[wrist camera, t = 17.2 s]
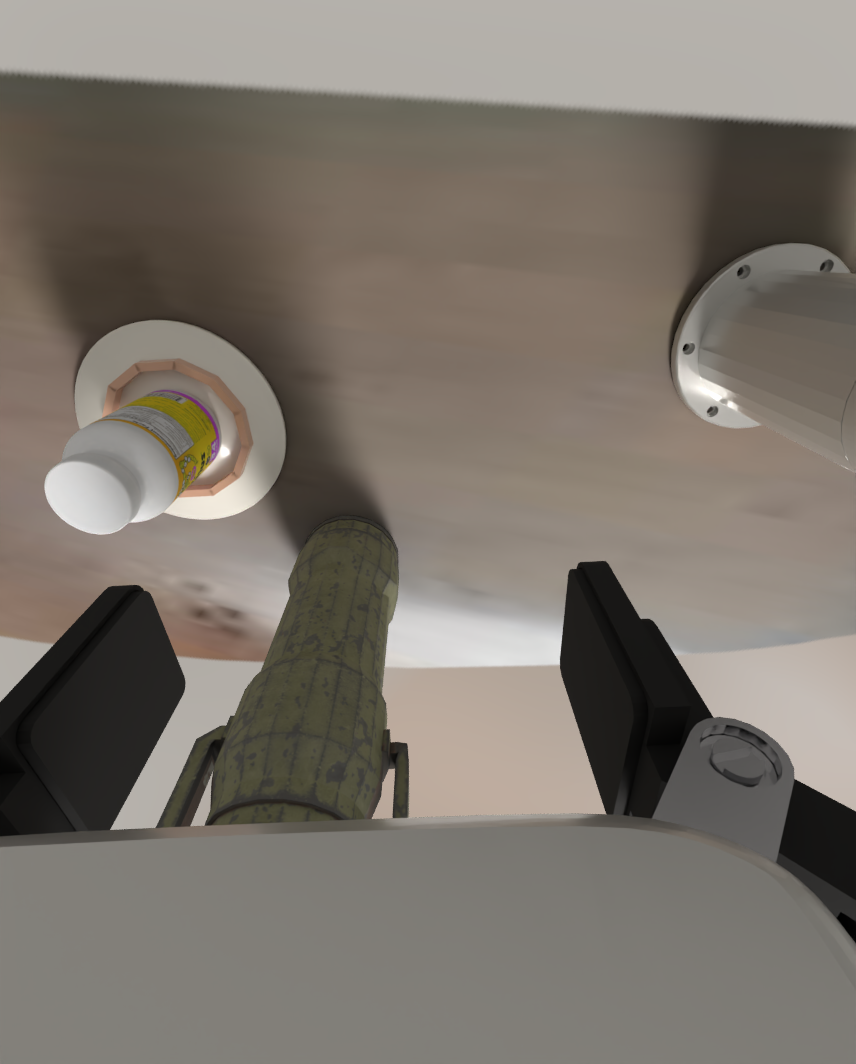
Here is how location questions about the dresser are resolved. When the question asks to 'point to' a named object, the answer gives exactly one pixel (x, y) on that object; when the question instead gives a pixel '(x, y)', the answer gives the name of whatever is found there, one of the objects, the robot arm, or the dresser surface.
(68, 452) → the supplement bottle
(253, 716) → the olive tall rounded piece
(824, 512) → the dresser surface
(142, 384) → the ring stand
